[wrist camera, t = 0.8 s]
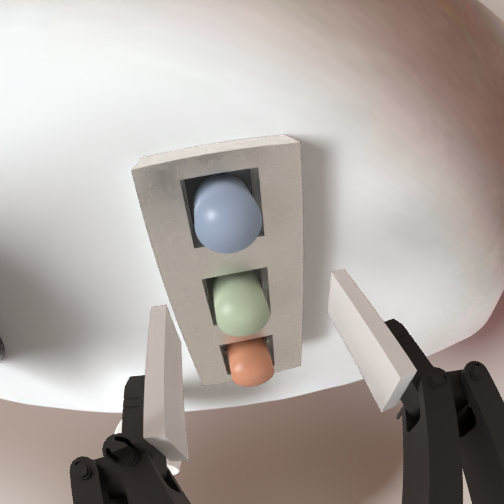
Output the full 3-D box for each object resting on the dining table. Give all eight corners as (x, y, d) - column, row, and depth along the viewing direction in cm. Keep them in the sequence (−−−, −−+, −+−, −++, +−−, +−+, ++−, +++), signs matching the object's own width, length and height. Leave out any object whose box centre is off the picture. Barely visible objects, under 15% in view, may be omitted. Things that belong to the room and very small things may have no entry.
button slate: (199, 231, 27) (201, 258, 23) (189, 179, 25) (188, 198, 20) (252, 221, 28) (264, 247, 24) (247, 169, 25) (259, 186, 21)
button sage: (216, 308, 33) (221, 340, 28) (208, 271, 30) (211, 303, 26) (261, 299, 33) (271, 330, 29) (257, 262, 30) (268, 292, 26)
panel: (201, 361, 41) (203, 385, 37) (140, 158, 25) (131, 169, 21) (292, 343, 42) (300, 365, 39) (284, 134, 26) (300, 142, 23)
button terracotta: (229, 360, 38) (235, 389, 34) (223, 336, 35) (228, 367, 31) (266, 352, 39) (275, 381, 34) (264, 327, 36) (273, 358, 32)
